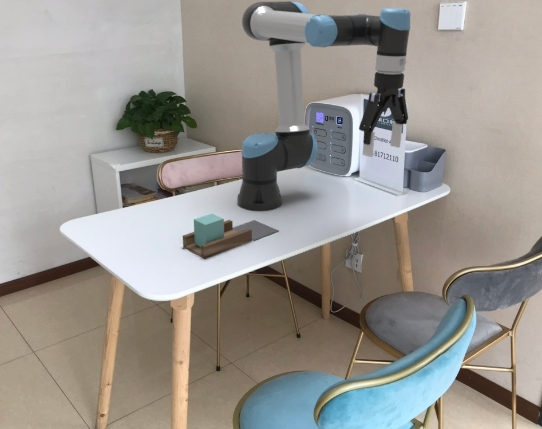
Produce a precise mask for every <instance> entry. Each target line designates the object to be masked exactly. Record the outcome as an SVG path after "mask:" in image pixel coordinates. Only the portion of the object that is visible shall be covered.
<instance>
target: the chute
mask: <svg viewBox="0 0 542 429" xmlns="http://www.w3.org/2000/svg"><path fill="white" fill-rule="evenodd" d="M233 225H234V224H233V220H231V219H228V220H224V237H223V238H220V239H218V240H215V241H212V242H209V243H207V244H204V245H201V247H199V246H198V245H196V244H195V237H194V231H192V232H189V233H186V234H184V235H182V247H183V248H185V249H186V250H188V251H190V252H192V253H193V254H195V255H197V256H199V257H201V258H203V259H208V258H210V257H213V256H216V255H219V254H221V253H223V252H226V251H230V250H231V249H234V248H236V247H239V246H242V245H244V244H245V245H246V244H247V243H250V242H252V241H253V240H252V230H251V229H249V228H248V229H245V230H243V231H240V232H237V231H235V230H233V227H234V226H233Z"/></svg>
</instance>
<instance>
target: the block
mask: <svg viewBox="0 0 542 429" xmlns="http://www.w3.org/2000/svg"><path fill="white" fill-rule="evenodd" d="M224 221H225V219H224V218H223V217H221V216H219V215H216V214H214V213H209V214H206V215H204V216H200V217H197V218H193V229H194V230H193V232H194V237H195V244H196V245H198V246H199V247H201V245H204V244H207V243H209V242H212V241H215V240H218V239H220V238H223V237H224Z"/></svg>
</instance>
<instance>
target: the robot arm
mask: <svg viewBox="0 0 542 429" xmlns="http://www.w3.org/2000/svg"><path fill="white" fill-rule="evenodd" d="M241 25H242V28H243V31H244V32H245V34H246V35H247V36H248V37H249V38H251V39H253V40H256V41H268V44H269V48H270V49H271V50H272V52H274V64H275V65H274V66H275V80H276V92H277V93H276V94H277V107H278V121H279V124H278V126H277V128H276V129H275V130H274V131H275V133H272V132H264V133H263V132H260V133H254V134H251V135H248V136H247V137H246V138H245V139H244V140H243V141H242V145H241V168H242V170H241V172H242V174H241V175H242V180H241V181H242V182H241V185H240V188H239V193H238V194H237V199H236V200H237V202H236V203H237V206H238V207H240V208H241V209H243V210H245V211H246V210H248V211H253V212H266V211H273V210H275V209H277V208H280V207H281V205H282V203H283V202H282V201H283V200H282V194H281V192H280V188H279V185H278V184H279V183H278V180H277V179H278V178H277V177H278V172H283V171H288V170H293V169H302V168H303V167H308V166H310V165H312V164H313V162H314V161H315V159H316V157H317V155H318V149H319V148H318V147H319V146H318V141H317V139H316V137H315V135H314V134H313V133H312V132H310V127H309V126H308V125H306V122H305V109H304V108H305V107H304V105H305V104H304V91H303V90H304V88H303V87H304V86H303V72H302V71H303V69H302V53H301V52H302V51H301V50H302V49H303V47H304V46H305V45H306V43H307V44H309V46H311V47H314V48H317V47H318V48H327V47H329V48H330V47H346V46H347V47H348V46H350V47H351V46H374V47H377V48H376V56H375V57H376V59H375V68H374V70H376V72H374V79H373V81H374V82H373V86H374V87H376V89H377V91H376V93H375V92H370V93H369V94H368V100H367V104H366V107H365V109H364V112H363V115H362V118H361V121H360V123H359V127H358V130H359V131H361V132H363V143H362V155H363V156H366V157H370V158H372V157H373V156H374V144H375V134H376V132H374V130H375V128H376V126H377V124H378V122H379V120H380V119H381V116H382V115H383V113H384V112H386V111H387V109H389V111H390V114H391V115H392V118H393V120H394V122H393V123H392V128H391V129H392V130H391V136H390V144H389V145H390V147H395V148H398V149H399V148H401V144H402V143H401V141H402V132H403V125H406V124H407V123H408V120H409V114H408V113H409V112H408V109H407V101H406V89H405V88H404V87H403V86H404V80H405V74H404V72H405V69H406V68H405V67H406V63H407V52H408V44H409V43H408V42H409V36H410V30H411V12H410V10H409V9H407V8H392V7H391V8H382V9H381V10H380V14H379V15H372V14H366V13H365V14H364V13H363V14H361V13H360V14H359V13H358V14H352V15H350V14H349V15H345V14H344V15H335V14H334V15H333V14H332V15H331V14H329V15H327V14H316V13H315V14H314V13H310V12H309V10H308V8H306V7H305V5H304V4H302V3H300V2H296V1H295V2H294V1H290V0H289V1H259V2H255V3H252V4H250V5H249V6H248V7H247V8H246V9H245V11H244V12H243V14H242V19H241Z"/></svg>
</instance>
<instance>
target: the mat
mask: <svg viewBox="0 0 542 429" xmlns="http://www.w3.org/2000/svg"><path fill="white" fill-rule="evenodd" d="M248 228H249V229H251V230H252V241H254V242H255V241H259V240H260V239H263V238H266V237H268V236H270V235H273V234H275V233H278V232H280V230H278V229H276V228H275V227H272V226H270V225H268V224H265V223H262V222H260V221H257V220H255V219H254V220H251V221H248V222H244V223H241V224H239V225H236V226H233V230H235V231H237V232H240V231H243V230H245V229H248Z"/></svg>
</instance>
